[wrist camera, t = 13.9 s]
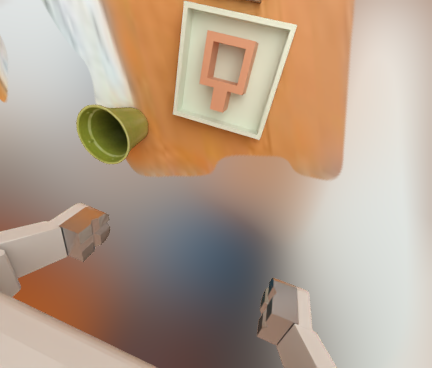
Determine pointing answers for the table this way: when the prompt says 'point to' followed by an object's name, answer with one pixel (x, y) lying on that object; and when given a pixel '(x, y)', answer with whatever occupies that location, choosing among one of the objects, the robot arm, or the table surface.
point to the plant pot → (110, 131)
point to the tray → (230, 67)
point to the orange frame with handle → (220, 85)
